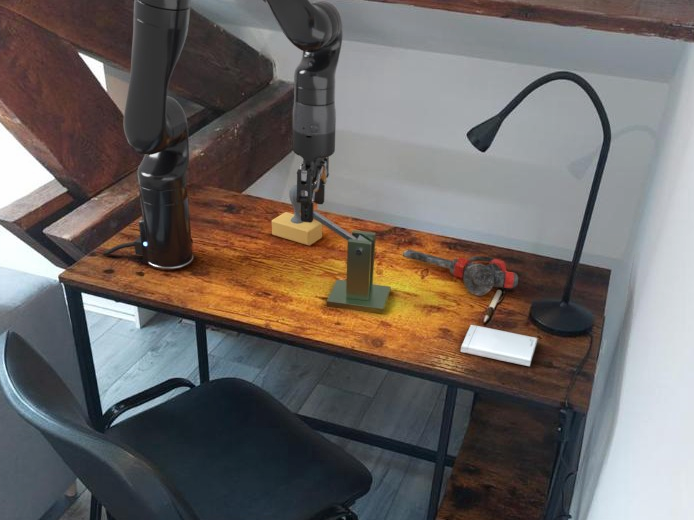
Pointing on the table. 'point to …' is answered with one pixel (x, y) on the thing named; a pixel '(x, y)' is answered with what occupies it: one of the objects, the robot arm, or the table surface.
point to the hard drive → (499, 345)
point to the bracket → (360, 279)
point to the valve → (472, 271)
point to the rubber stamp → (296, 224)
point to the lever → (335, 226)
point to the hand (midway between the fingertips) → (312, 212)
